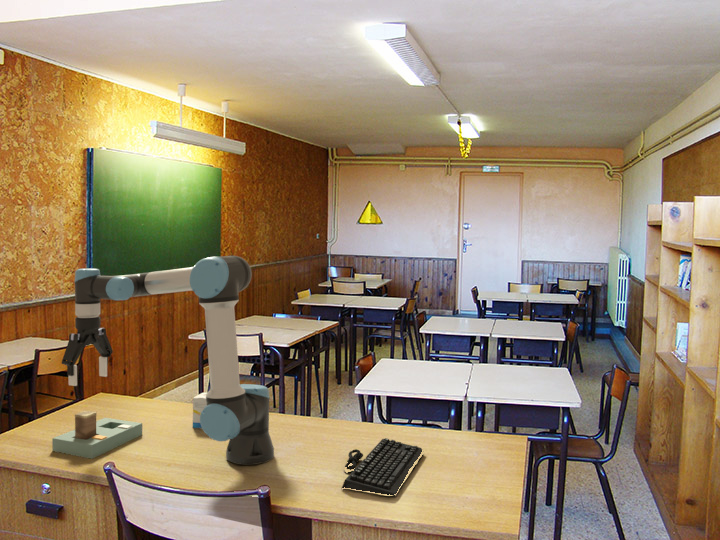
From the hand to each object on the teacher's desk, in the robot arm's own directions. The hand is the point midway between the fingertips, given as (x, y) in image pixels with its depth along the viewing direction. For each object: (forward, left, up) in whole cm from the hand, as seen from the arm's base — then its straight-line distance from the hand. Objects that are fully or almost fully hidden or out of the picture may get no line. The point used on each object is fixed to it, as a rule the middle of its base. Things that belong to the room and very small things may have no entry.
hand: (88, 380), depth 205 cm
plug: (0, +1, -22) cm, 22 cm away
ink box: (-23, -35, -23) cm, 48 cm away
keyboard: (-93, -20, -23) cm, 98 cm away
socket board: (0, -5, -23) cm, 23 cm away
